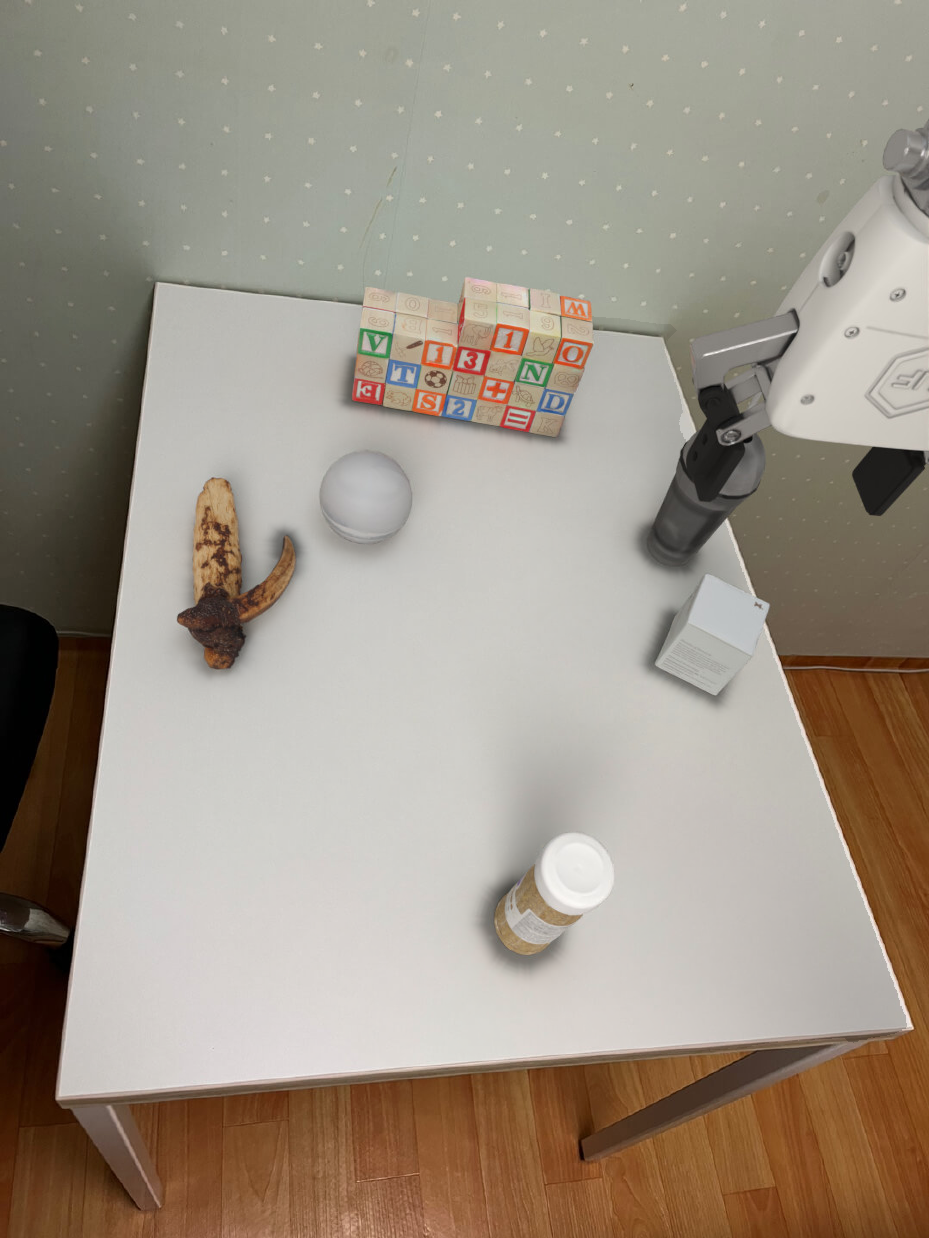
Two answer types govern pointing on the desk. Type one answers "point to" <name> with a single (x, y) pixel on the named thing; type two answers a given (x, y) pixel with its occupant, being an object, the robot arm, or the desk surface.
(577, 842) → the sprinkles bottle
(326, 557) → the desk surface
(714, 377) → the robot arm
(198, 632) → the lashed bone hook
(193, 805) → the desk surface
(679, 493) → the beverage cup
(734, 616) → the product box
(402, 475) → the bath bomb
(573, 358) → the stack of blocks
